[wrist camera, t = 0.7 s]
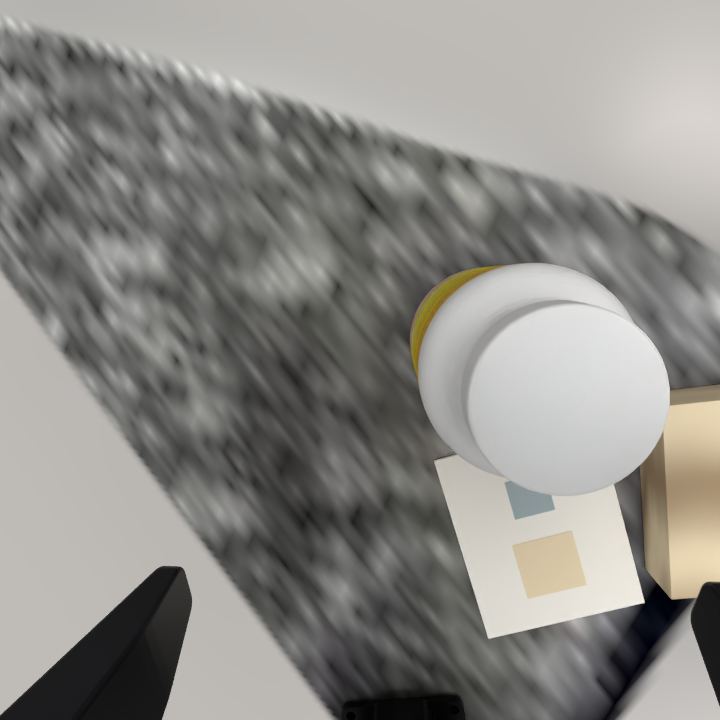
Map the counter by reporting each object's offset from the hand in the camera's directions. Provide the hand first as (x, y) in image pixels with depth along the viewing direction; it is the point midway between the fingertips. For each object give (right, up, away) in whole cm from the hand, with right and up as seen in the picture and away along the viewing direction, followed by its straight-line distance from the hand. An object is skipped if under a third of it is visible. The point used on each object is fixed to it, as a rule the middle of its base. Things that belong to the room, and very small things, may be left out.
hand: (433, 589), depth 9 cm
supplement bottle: (+4, +5, +16) cm, 17 cm away
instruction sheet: (+8, -5, +17) cm, 19 cm away
